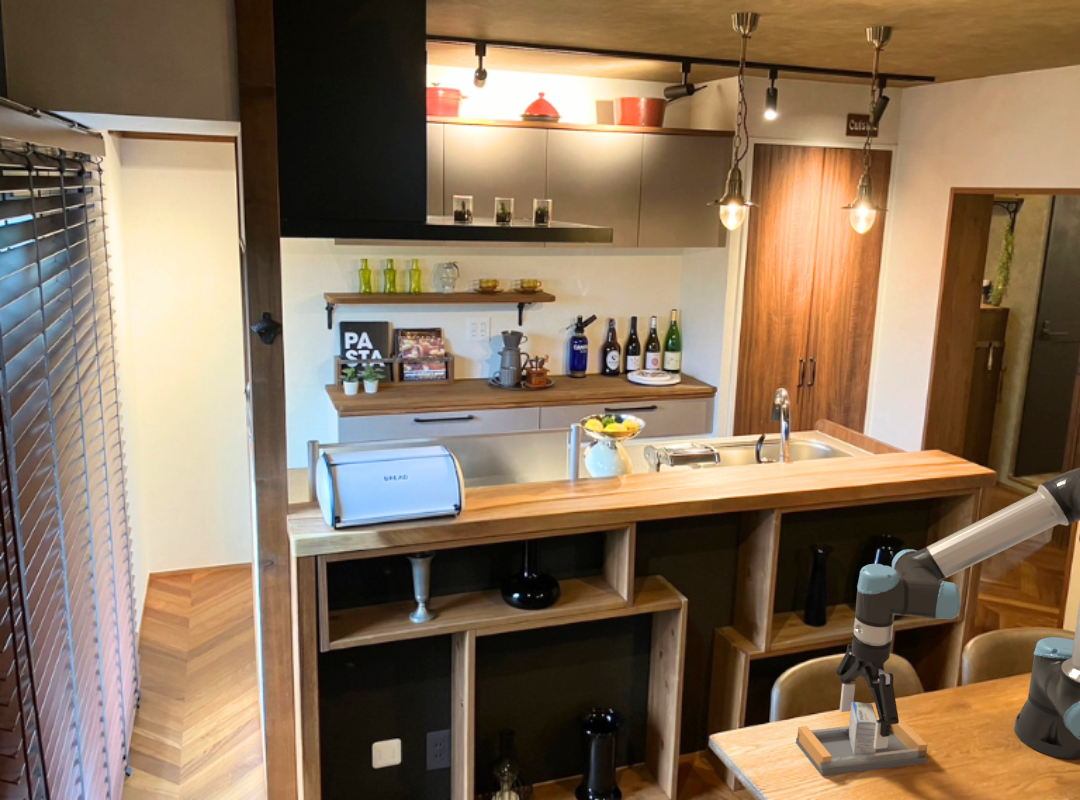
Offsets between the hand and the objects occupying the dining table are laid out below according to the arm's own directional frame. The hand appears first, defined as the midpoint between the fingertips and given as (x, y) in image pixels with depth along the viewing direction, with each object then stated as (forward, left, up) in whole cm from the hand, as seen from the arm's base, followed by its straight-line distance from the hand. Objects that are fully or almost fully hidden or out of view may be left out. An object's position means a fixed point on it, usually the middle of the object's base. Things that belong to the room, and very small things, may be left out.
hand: (862, 728), depth 190 cm
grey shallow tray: (0, 0, -6) cm, 6 cm away
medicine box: (0, 0, -5) cm, 5 cm away
